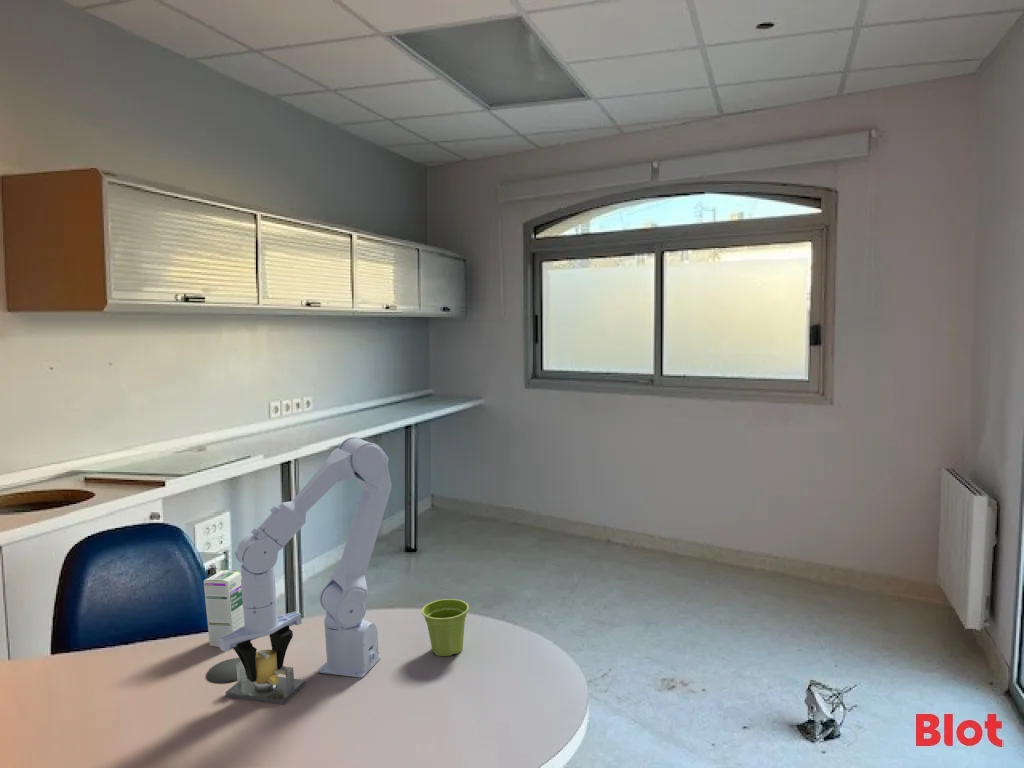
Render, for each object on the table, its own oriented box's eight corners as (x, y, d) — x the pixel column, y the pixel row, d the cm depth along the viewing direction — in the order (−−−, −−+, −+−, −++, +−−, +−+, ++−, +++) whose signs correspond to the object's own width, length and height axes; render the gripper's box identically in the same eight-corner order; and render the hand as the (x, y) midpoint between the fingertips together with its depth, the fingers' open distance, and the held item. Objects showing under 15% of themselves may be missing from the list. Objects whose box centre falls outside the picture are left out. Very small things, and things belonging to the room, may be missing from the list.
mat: (266, 661, 136) (266, 660, 136) (237, 685, 127) (236, 683, 127) (228, 656, 138) (228, 655, 138) (196, 679, 129) (196, 678, 129)
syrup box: (233, 648, 142) (228, 580, 140) (208, 646, 143) (202, 579, 141) (249, 635, 147) (244, 570, 146) (224, 634, 148) (219, 569, 147)
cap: (287, 679, 123) (285, 655, 123) (264, 689, 120) (262, 665, 120) (266, 664, 129) (264, 642, 129) (243, 673, 126) (241, 650, 125)
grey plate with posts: (305, 684, 127) (304, 660, 126) (283, 704, 120) (282, 679, 120) (249, 677, 130) (248, 653, 129) (225, 696, 123) (223, 671, 123)
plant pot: (417, 659, 134) (414, 617, 134) (432, 637, 143) (430, 597, 143) (462, 663, 132) (460, 620, 131) (475, 640, 141) (474, 600, 141)
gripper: (286, 584, 131) (291, 652, 133) (210, 609, 121) (216, 682, 122) (305, 594, 126) (309, 664, 128) (226, 620, 116) (232, 696, 117)
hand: (265, 674), depth 125 cm, fingers closed on cap, 4 cm apart
